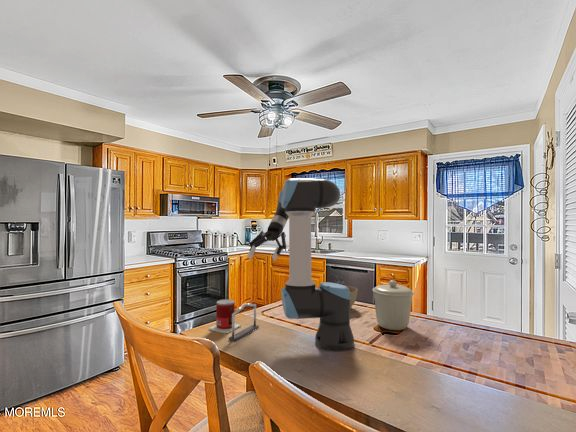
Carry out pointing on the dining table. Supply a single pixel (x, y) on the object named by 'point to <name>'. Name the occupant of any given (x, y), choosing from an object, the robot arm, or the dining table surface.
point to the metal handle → (245, 331)
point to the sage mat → (215, 328)
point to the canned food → (224, 313)
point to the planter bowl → (352, 295)
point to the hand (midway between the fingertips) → (261, 258)
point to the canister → (393, 305)
